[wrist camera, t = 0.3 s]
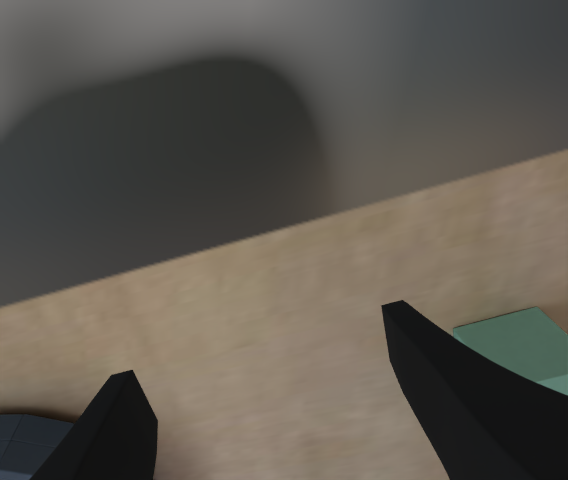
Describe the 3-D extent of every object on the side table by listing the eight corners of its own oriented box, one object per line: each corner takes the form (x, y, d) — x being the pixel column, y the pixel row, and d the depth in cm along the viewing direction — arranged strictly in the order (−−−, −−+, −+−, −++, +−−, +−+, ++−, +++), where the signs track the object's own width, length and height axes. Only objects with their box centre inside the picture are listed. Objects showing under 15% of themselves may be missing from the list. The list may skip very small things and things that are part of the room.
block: (534, 370, 28) (592, 436, 24) (457, 390, 28) (500, 460, 24) (537, 306, 26) (602, 365, 22) (452, 328, 26) (499, 391, 22)
